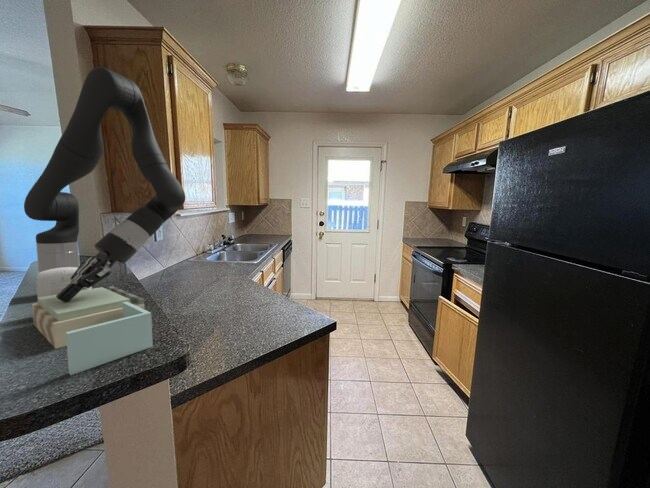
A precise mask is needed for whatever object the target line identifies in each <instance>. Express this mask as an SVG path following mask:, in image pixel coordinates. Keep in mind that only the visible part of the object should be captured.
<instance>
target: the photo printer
mask: <svg viewBox="0 0 650 488" xmlns="http://www.w3.org/2000/svg"><path fill="white" fill-rule="evenodd" d="M77 269H78V268H77V267H62V268H55V269H50V270H46V271H42V272H40V273H39V272H38V273H37V277H36V291H37V292H36V293H37V298H38V297H45V296H51V295H57V294H59V293H60V292H61V291H62V290H63V289H64V288H65V287H67V286H68V285H69V284H70V281H71V279H70V278H71V277H72V275H73V274H74V273H75V271H76V270H77ZM88 289H93V286H91V287H90V288H87V287H86V288H85V289H82V290H88ZM82 290H81V291H82Z"/></svg>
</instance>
